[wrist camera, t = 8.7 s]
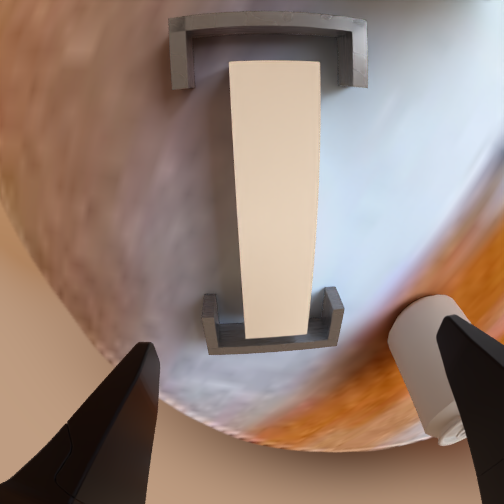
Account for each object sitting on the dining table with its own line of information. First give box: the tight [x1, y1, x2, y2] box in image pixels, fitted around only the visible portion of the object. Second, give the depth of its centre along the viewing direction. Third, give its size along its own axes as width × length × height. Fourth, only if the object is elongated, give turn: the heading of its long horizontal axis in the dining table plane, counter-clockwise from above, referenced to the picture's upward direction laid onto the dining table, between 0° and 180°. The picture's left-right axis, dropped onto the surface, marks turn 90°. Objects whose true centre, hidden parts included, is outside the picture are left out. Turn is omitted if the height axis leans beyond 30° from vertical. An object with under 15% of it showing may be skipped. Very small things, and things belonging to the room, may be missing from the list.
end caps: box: [168, 11, 368, 355], centre depth 18 cm, size 10×22×2 cm, turn 2°
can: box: [387, 295, 471, 446], centre depth 20 cm, size 8×8×12 cm
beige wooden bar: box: [229, 60, 320, 339], centre depth 17 cm, size 4×16×4 cm, turn 2°
